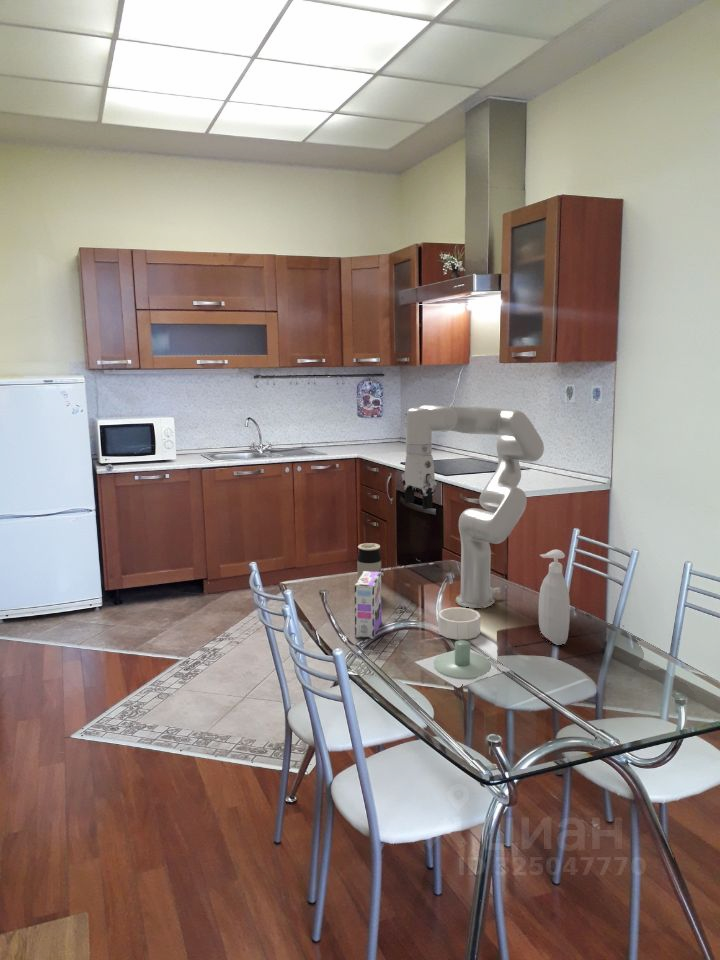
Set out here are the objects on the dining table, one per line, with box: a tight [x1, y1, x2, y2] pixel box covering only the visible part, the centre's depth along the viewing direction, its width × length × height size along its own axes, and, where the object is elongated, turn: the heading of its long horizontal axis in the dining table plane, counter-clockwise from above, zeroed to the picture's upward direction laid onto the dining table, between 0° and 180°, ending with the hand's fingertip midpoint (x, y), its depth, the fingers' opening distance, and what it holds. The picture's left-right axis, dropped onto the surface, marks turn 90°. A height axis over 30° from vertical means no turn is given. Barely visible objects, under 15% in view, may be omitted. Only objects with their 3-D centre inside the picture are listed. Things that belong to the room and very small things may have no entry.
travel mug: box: [356, 542, 382, 580], centre depth 249 cm, size 8×8×18 cm
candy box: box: [354, 571, 383, 639], centre depth 220 cm, size 14×6×16 cm, turn 168°
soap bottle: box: [537, 548, 571, 646], centre depth 210 cm, size 14×8×27 cm, turn 14°
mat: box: [414, 648, 512, 689], centre depth 195 cm, size 18×18×1 cm
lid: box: [434, 639, 491, 679], centre depth 194 cm, size 15×15×6 cm
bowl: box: [437, 606, 482, 641], centre depth 217 cm, size 12×12×6 cm
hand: (418, 505), depth 223 cm, fingers open, 9 cm apart
